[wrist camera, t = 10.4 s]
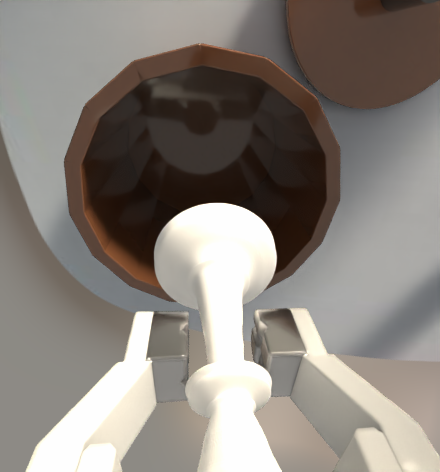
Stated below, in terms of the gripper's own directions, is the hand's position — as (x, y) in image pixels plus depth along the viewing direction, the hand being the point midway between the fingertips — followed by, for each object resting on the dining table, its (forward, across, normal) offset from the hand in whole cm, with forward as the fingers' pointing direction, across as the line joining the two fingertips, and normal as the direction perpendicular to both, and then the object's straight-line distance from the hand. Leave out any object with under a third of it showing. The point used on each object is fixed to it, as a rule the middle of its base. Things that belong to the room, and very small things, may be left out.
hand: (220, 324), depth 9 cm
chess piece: (+4, 0, 0) cm, 4 cm away
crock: (+21, 0, 0) cm, 21 cm away
